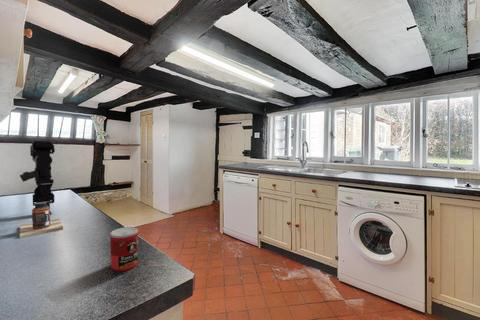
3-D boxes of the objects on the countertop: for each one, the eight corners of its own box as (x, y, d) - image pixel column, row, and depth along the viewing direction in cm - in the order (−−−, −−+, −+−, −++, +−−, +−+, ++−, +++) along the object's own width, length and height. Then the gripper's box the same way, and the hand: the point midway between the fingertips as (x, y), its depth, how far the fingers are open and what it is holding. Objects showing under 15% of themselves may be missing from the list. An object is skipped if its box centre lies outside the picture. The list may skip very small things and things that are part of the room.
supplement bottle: (52, 226, 100) (51, 202, 100) (35, 230, 95) (34, 204, 95) (47, 224, 103) (46, 200, 103) (30, 228, 98) (29, 203, 98)
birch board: (20, 227, 103) (20, 224, 103) (58, 220, 113) (58, 218, 113) (19, 238, 90) (19, 235, 90) (63, 229, 100) (63, 227, 100)
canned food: (120, 274, 64) (119, 237, 63) (105, 267, 68) (104, 232, 68) (143, 263, 70) (143, 229, 70) (129, 257, 75) (128, 225, 74)
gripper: (20, 165, 111) (22, 195, 112) (20, 167, 98) (21, 201, 98) (49, 164, 119) (50, 192, 119) (53, 166, 106) (54, 198, 106)
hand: (44, 196), depth 111 cm, fingers open, 9 cm apart
